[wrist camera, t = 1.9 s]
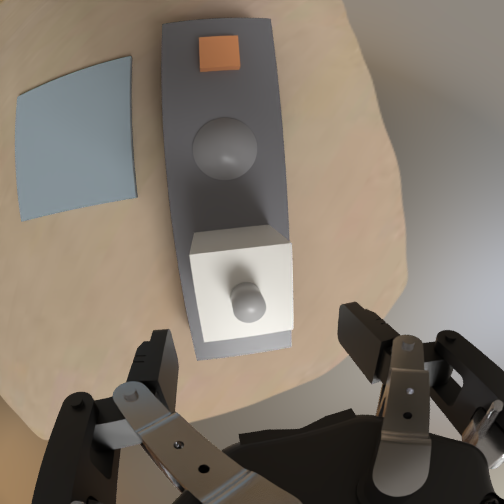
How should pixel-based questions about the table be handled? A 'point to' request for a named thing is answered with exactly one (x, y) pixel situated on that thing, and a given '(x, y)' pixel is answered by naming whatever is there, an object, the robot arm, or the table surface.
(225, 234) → the block
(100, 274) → the table surface
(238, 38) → the power strip
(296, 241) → the table surface
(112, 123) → the mat
